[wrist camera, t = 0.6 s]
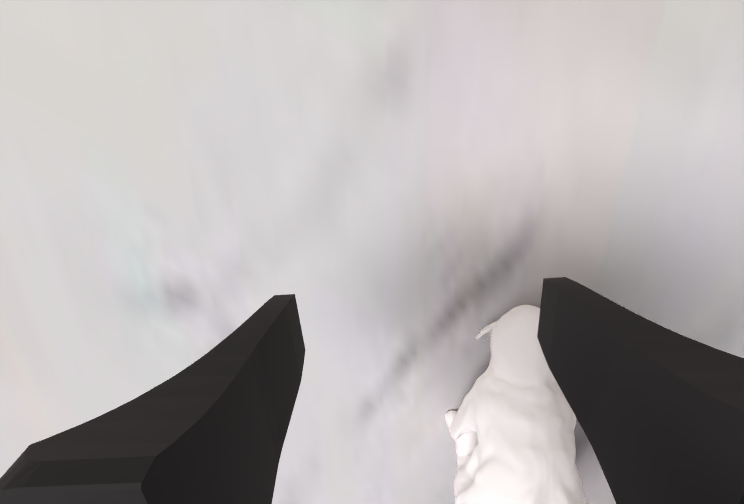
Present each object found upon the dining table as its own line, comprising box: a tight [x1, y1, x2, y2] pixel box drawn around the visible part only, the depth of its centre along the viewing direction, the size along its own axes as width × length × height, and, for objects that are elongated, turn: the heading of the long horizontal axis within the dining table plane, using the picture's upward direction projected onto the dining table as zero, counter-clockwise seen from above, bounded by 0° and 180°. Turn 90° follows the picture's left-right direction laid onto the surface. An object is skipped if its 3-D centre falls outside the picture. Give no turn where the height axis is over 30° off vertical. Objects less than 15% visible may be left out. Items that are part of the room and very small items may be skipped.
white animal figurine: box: [445, 305, 586, 504], centre depth 22 cm, size 6×8×12 cm
